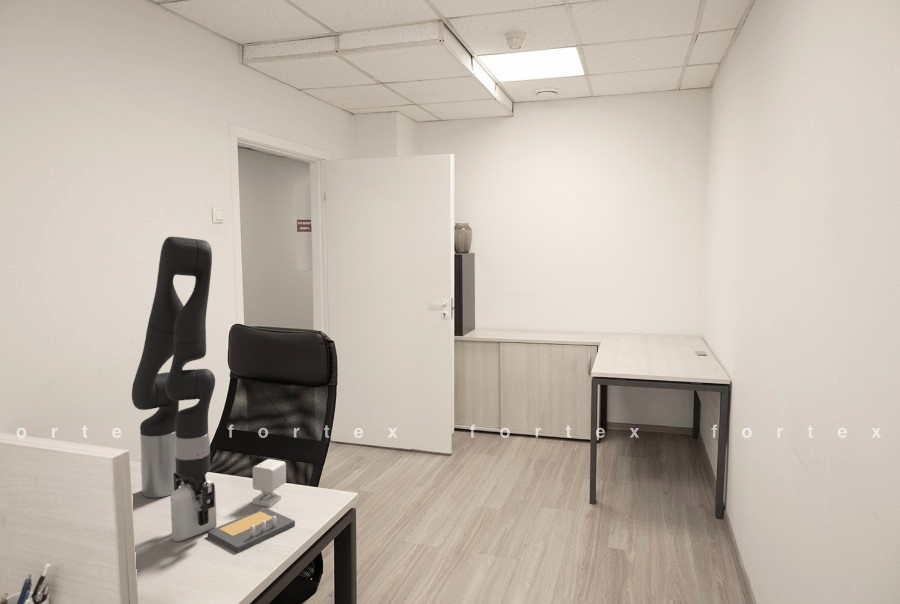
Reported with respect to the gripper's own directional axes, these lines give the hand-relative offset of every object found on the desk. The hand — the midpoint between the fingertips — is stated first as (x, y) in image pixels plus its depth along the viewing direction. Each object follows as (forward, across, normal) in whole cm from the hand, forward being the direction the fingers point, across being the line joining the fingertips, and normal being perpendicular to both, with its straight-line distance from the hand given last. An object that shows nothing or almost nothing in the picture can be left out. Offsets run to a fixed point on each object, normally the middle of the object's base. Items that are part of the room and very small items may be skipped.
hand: (194, 519), depth 138 cm
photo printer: (+4, 0, 0) cm, 4 cm away
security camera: (+4, -1, +22) cm, 22 cm away
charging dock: (+3, +10, +9) cm, 14 cm away
